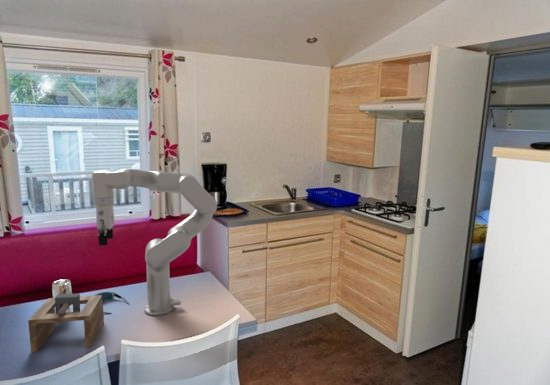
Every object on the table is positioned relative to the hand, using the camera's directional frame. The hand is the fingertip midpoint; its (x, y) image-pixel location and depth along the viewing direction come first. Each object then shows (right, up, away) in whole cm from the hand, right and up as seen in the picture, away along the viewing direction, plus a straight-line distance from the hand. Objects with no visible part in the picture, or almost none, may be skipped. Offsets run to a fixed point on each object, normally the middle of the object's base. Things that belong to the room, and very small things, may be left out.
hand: (106, 241), depth 158 cm
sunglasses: (-5, -31, +13) cm, 34 cm away
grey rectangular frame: (-8, -28, -14) cm, 32 cm away
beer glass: (-19, -32, +3) cm, 38 cm away
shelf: (-8, -35, -13) cm, 38 cm away
